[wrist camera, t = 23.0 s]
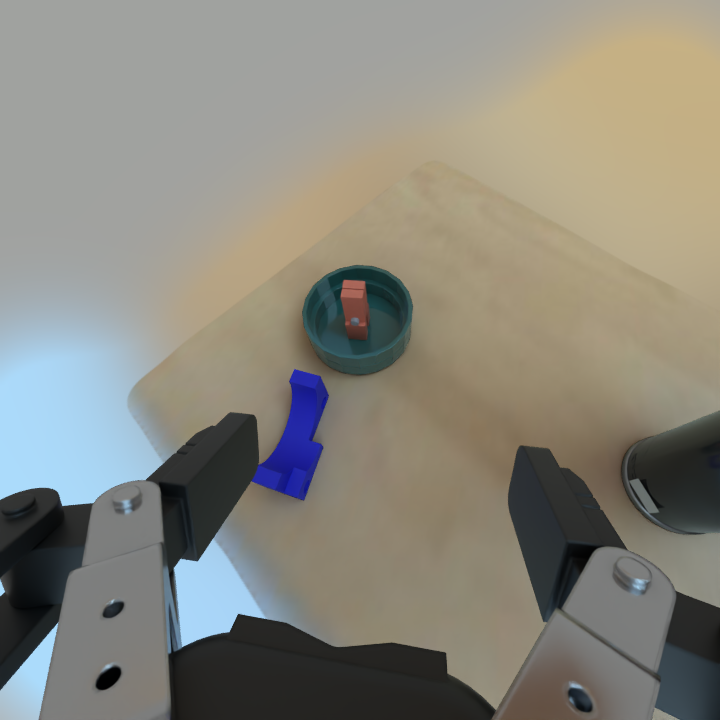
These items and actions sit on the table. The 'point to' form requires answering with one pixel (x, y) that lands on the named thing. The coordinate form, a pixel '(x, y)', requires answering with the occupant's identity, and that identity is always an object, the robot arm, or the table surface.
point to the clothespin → (355, 309)
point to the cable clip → (296, 440)
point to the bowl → (384, 330)
